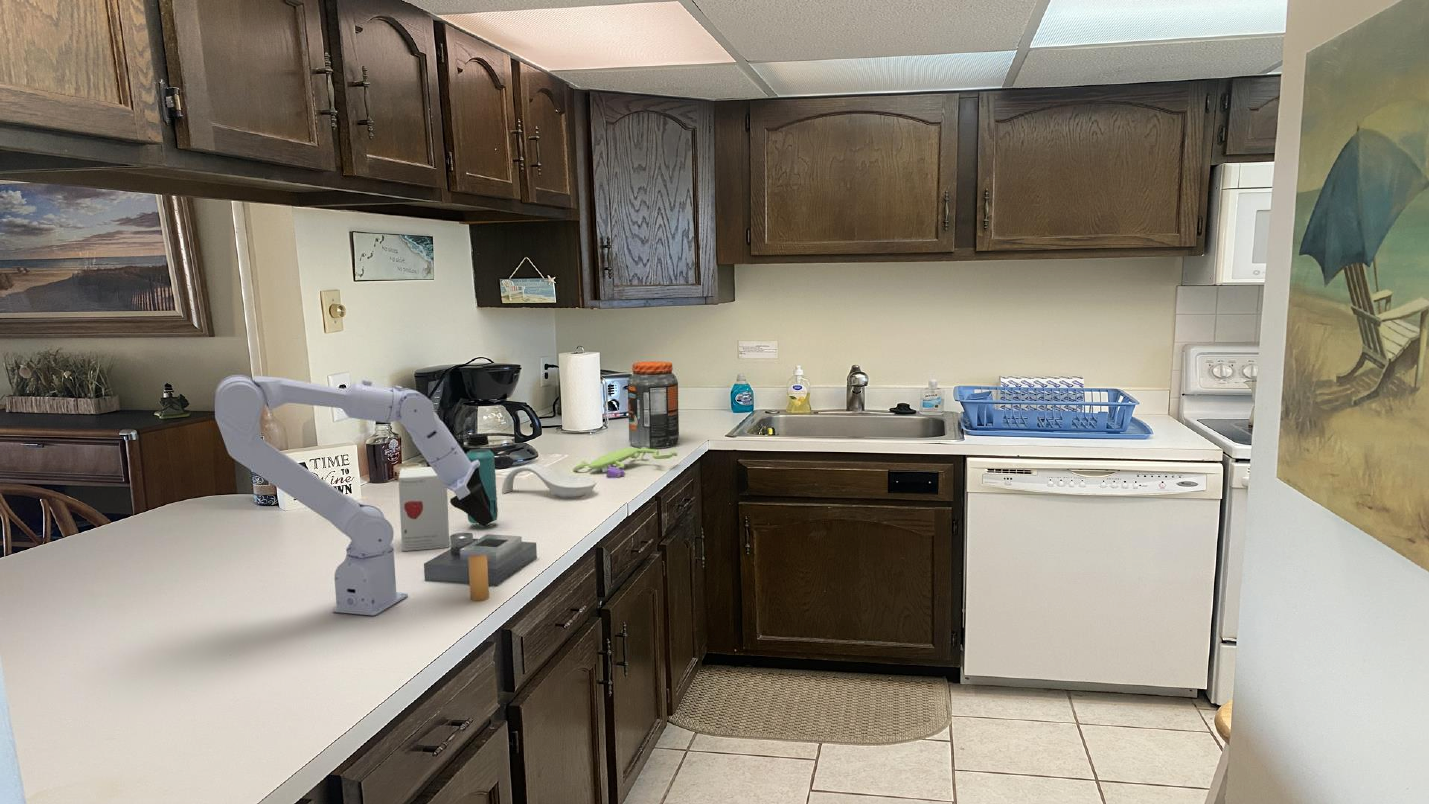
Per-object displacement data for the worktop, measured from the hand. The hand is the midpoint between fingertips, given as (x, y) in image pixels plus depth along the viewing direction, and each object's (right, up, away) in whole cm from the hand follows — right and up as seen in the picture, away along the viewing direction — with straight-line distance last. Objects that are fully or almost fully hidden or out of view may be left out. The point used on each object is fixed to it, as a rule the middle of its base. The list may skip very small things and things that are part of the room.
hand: (486, 515), depth 158 cm
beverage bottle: (-10, -7, +38) cm, 40 cm away
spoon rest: (-1, -3, +66) cm, 66 cm away
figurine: (+15, +1, +95) cm, 96 cm away
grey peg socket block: (-3, -11, +10) cm, 15 cm away
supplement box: (-19, -9, +26) cm, 33 cm away
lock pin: (0, -13, -6) cm, 14 cm away
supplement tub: (+20, +6, +129) cm, 131 cm away
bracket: (-1, -8, +9) cm, 12 cm away
